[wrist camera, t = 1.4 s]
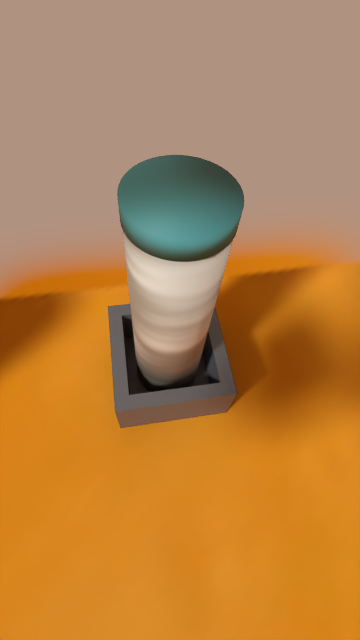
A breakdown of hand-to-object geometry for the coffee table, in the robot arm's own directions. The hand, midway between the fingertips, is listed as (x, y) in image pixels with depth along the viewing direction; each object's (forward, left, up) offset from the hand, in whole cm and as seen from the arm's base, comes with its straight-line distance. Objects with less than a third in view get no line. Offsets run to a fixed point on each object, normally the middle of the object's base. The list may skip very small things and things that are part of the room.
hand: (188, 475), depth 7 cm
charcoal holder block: (+7, -4, -14) cm, 16 cm away
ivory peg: (+7, -4, -13) cm, 16 cm away
